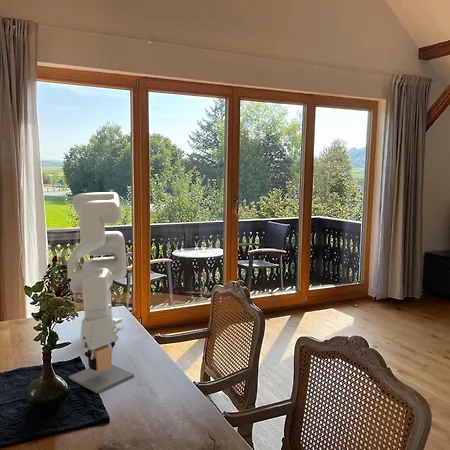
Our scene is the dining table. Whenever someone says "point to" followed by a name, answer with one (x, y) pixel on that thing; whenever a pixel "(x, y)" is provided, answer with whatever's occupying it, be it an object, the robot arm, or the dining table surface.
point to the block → (103, 358)
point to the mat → (101, 378)
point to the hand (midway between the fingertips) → (100, 365)
